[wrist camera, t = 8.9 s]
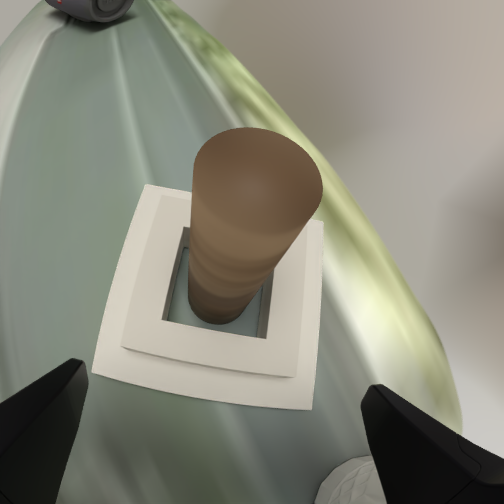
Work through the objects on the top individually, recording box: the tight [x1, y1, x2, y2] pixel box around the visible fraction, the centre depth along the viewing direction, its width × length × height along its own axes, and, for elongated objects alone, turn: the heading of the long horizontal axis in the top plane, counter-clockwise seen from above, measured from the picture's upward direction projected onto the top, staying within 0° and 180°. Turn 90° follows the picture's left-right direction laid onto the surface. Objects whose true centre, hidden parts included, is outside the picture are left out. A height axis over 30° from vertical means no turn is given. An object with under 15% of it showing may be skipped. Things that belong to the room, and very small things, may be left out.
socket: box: [92, 184, 323, 410], centre depth 19 cm, size 14×14×3 cm
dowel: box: [188, 128, 323, 324], centre depth 15 cm, size 4×4×13 cm
